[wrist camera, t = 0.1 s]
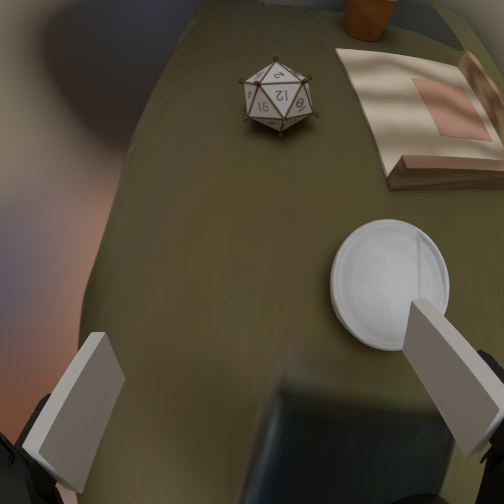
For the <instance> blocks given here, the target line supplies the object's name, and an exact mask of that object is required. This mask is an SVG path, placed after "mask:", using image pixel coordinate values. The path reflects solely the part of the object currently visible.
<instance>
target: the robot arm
mask: <svg viewBox="0 0 504 504" xmlns="http://www.w3.org/2000/svg"><path fill="white" fill-rule="evenodd" d="M402 352H403V353H404V355H405V356H406V358H407V359H408V361H409V362H410V364H411V366H412V367H413V369H414V370H415V372H416V374H417V375H418V377H419V378H420V380H421V382H422V383H423V385H424V386H425V388H426V390H427V391H428V393H429V395H430V396H431V398H432V400H433V401H434V403H435V405H436V406H437V408H438V410H439V411H440V413H441V415H442V417H443V418H444V420H445V422H446V424H447V425H448V427H449V429H450V431H451V433H452V434H453V436H454V438H455V440H456V442H457V443H458V445H459V447H460V449H461V451H462V453H463V455H464V457H465V458H468V457H470V456H472V455H474V454H476V453H478V452H479V451H481V450H482V449H483V448H484V446H485V445H486V444H487V442H488V441H489V442H490V444H491V445H492V446H491V447H490V449H489V450H488V451H487V452H486V454H485V455H484V456H483V457H482V459H481V461H480V463H483V462H484V460H485V459H486V458H487V461H486V463H485V464H486V466H485V470H484V474H483V478H482V482H481V485H480V489H479V492H478V496H477V499H476V502H475V504H504V370H503V369H502V367H501V366H499V364H498V363H497V362H496V361H495V359H494V358H493V357H492V356H491V355H489V354H487V353H486V352H484V351H482V350H479V351H475V350H474V349H473V348H472V347H471V345H470V344H469V343H468V342H467V341H466V340H465V339H464V338H463V336H462V335H461V334H460V333H459V332H458V331H457V330H456V329H455V328H454V327H453V326H452V325H451V324H450V322H449V321H448V320H447V319H446V318H445V317H444V316H443V315H442V314H441V313H440V312H439V311H438V310H437V309H436V308H435V307H434V306H433V305H432V304H431V303H430V302H429V301H428V300H427V299H426V298H422V299H417V300H412V301H411V306H410V312H409V317H408V323H407V328H406V333H405V338H404V343H403V348H402ZM125 379H126V378H125V376H124V374H123V372H122V369H121V367H120V365H119V363H118V361H117V358H116V356H115V354H114V351H113V349H112V347H111V344H110V342H109V340H108V337H107V335H106V332H91V334H90V335H89V337H88V338H87V340H86V341H85V343H84V344H83V346H82V347H81V349H80V350H79V352H78V353H77V355H76V356H75V358H74V359H73V361H72V362H71V364H70V366H69V367H68V369H67V370H66V372H65V373H64V375H63V377H62V378H61V380H60V381H59V383H58V385H57V386H56V388H55V389H54V391H53V393H52V394H47V395H46V396H45V397H44V398H43V399H42V400H41V401H40V402H39V403H38V405H37V407H36V408H35V410H34V412H33V413H32V415H31V417H30V420H28V422H27V424H26V426H25V427H24V429H23V431H22V432H21V434H20V436H19V438H18V440H17V441H16V443H15V445H14V446H13V445H12V444H11V443H10V442H9V440H8V439H7V438H6V437H5V436H4V435H3V434H2V433H1V432H0V504H64V503H63V500H62V498H61V496H60V493H59V491H58V489H57V488H56V487H55V485H56V482H58V483H60V484H61V485H62V486H63V487H64V488H65V489H68V490H71V491H74V492H77V493H80V494H82V491H83V488H84V485H85V483H86V480H87V477H88V474H89V471H90V468H91V465H92V463H93V460H94V457H95V454H96V452H97V449H98V446H99V443H100V441H101V438H102V436H103V433H104V430H105V428H106V425H107V423H108V420H109V418H110V415H111V413H112V410H113V408H114V405H115V403H116V400H117V398H118V396H119V393H120V391H121V388H122V386H123V384H124V381H125ZM393 504H449V503H447V502H446V501H445V500H444V499H442V498H441V497H439V496H435V495H419V496H414V497H410V498H406V499H403V500H401V501H398V502H396V503H393Z"/></svg>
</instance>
